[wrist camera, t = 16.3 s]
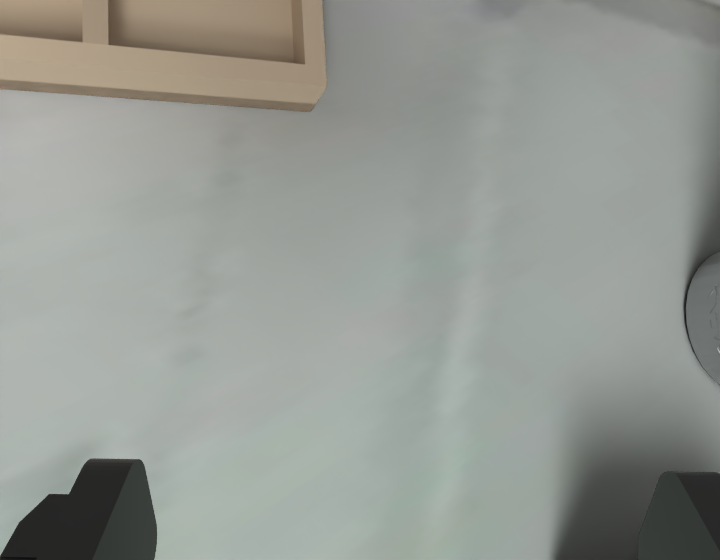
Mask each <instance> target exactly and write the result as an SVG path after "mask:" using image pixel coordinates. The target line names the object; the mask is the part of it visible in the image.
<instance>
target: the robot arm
mask: <svg viewBox="0 0 720 560" xmlns="http://www.w3.org/2000/svg"><path fill="white" fill-rule="evenodd" d="M686 321H687V328H688V333H689V338H690V341H691V344H692V346H693V349H694V352H695V354H696V356H697V358H698V360H699V361H700V363H701V365H702V366H703V368H704V369H705V370H706V372H707V373H708V374H709V375H710V376H711V377H712V379H713V380H714V381H716V382H717V383H718V384H720V252H717V253H715V254H714V255H712V256H710V257H709V258H707V259H706V260H705V261H704V262H703V264H702V265H701V266H700V267H699V268H698V270H697V271H696V273H695V275H694V277H693V279H692V281H691V284H690V287H689V291H688V295H687V303H686ZM156 544H157V525H156V520H155V515H154V510H153V505H152V500H151V495H150V490H149V485H148V481H147V476H146V471H145V467H144V464H143V462H142V461H141V460H140V459H90V460H88V461H87V462H86V463H85V464H84V466H83V468H82V469H81V471H80V473H79V475H78V477H77V479H76V481H75V483H74V485H73V487H72V489H71V491H70V493H69V494H49V495H48V496H47V497H46V498H45V499H44V500H43V501H42V502H40V503H39V504H38V505H37V506H36V507H35V508H34V509H33V510H32V511H31V512H30V513H29V514H28V515H27V516H26V517H25V518H24V519H23V520H21V521H20V522H19V524H18V526H17V527H16V529H15V531H14V533H13V535H12V536H11V538H10V540H9V542H8V543H7V545H6V547H5V549H4V551H3V552H2V554H1V556H0V560H154V558H155V552H156ZM638 560H720V474H719V473H716V472H673V471H667V472H664V473H663V474H662V475H661V477H660V479H659V481H658V484H657V486H656V489H655V492H654V495H653V497H652V500H651V503H650V506H649V509H648V511H647V514H646V517H645V520H644V522H643V525H642V528H641V531H640V534H639V537H638Z"/></svg>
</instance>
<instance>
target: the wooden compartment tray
mask: <svg viewBox="0 0 720 560" xmlns="http://www.w3.org/2000/svg"><path fill="white" fill-rule="evenodd" d="M326 88H327V77H326V60H325V42H324V25H323V8H322V0H0V89H9V90H22V91H36V92H49V93H63V94H76V95H90V96H103V97H117V98H131V99H144V100H158V101H171V102H185V103H198V104H212V105H225V106H239V107H252V108H266V109H280V110H293V111H307V112H311V111H312V109H313V108H314V106H315V105H316V103H317V102H318V100H319V98H320V97H321V95H322V94H323V92H324V91H325V89H326Z"/></svg>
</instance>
